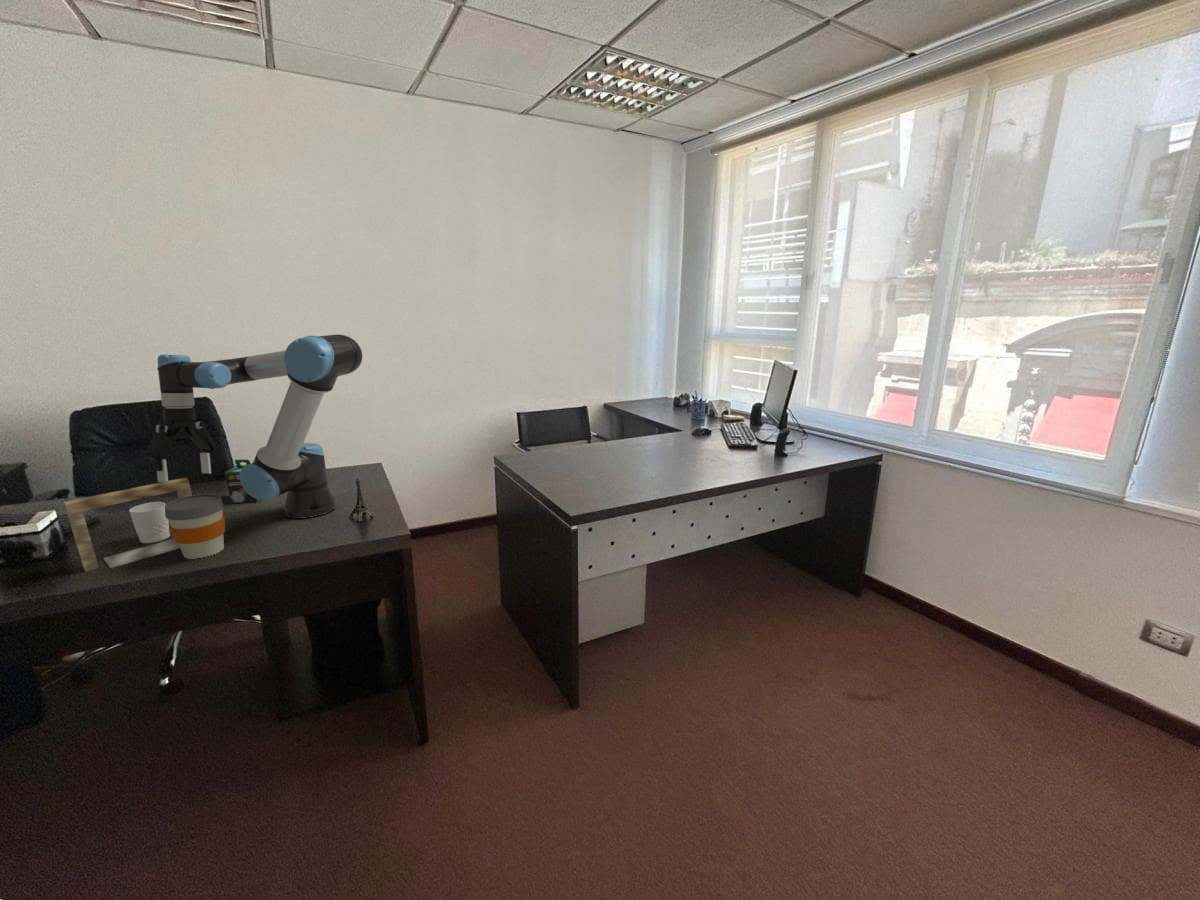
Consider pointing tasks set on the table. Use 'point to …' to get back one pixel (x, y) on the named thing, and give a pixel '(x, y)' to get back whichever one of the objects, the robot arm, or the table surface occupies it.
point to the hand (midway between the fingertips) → (185, 477)
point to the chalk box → (237, 484)
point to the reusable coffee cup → (197, 524)
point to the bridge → (83, 504)
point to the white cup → (150, 522)
